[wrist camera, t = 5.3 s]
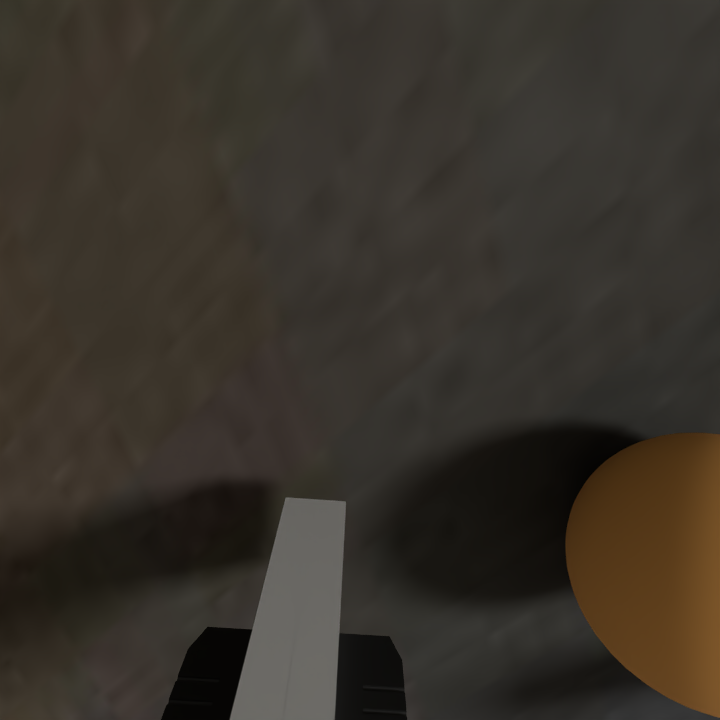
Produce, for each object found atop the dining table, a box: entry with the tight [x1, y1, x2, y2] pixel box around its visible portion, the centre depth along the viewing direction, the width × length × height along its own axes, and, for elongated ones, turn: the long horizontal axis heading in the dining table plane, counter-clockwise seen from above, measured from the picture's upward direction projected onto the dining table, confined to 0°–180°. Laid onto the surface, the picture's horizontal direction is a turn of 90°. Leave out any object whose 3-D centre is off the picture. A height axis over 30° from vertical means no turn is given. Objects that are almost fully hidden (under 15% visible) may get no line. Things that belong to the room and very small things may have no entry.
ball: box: [565, 433, 720, 718], centre depth 12 cm, size 6×6×6 cm
